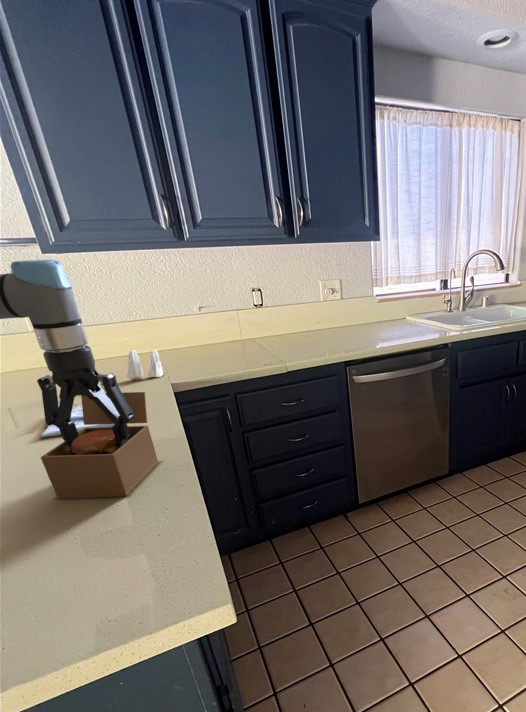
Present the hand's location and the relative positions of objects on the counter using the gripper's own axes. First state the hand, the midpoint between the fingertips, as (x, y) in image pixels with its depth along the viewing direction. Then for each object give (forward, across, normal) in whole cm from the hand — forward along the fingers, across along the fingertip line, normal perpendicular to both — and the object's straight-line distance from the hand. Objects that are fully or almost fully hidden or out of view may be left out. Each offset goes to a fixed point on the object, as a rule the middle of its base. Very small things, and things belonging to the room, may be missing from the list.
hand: (102, 453), depth 90 cm
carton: (+7, 0, 0) cm, 7 cm away
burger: (+1, 0, 0) cm, 1 cm away
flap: (-7, 0, -8) cm, 11 cm away
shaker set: (+7, +28, -74) cm, 79 cm away
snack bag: (+7, +26, -34) cm, 43 cm away
